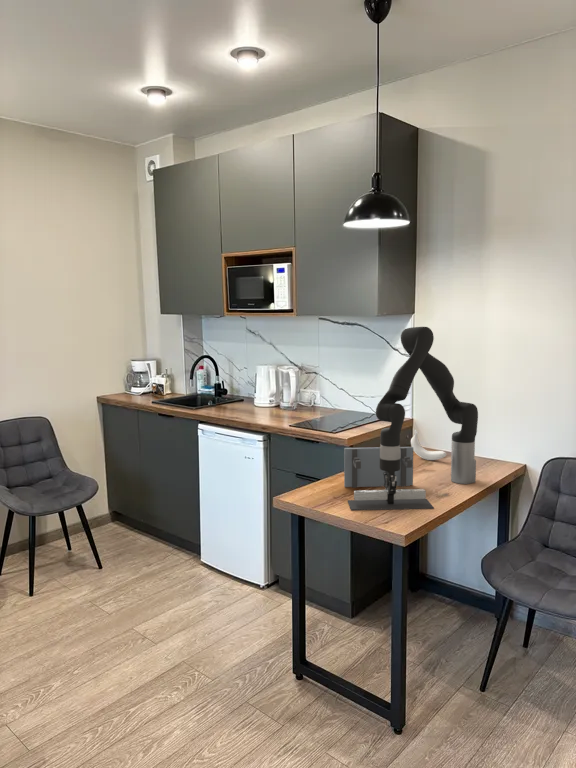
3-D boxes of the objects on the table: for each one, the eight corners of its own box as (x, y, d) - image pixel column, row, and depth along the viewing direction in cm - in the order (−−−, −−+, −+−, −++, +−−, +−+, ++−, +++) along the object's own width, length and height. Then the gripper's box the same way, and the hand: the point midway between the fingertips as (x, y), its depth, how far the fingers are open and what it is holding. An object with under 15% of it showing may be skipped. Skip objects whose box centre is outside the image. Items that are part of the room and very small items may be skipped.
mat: (426, 499, 217) (426, 498, 217) (433, 508, 207) (433, 507, 207) (347, 501, 216) (347, 500, 216) (350, 510, 207) (350, 509, 206)
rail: (423, 496, 213) (424, 489, 212) (425, 498, 210) (425, 491, 210) (354, 498, 212) (354, 490, 212) (354, 500, 210) (354, 492, 210)
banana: (444, 464, 267) (445, 433, 265) (408, 458, 279) (408, 428, 277) (449, 462, 270) (450, 431, 269) (413, 456, 283) (413, 426, 281)
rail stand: (412, 484, 236) (412, 446, 234) (419, 494, 223) (420, 454, 221) (344, 486, 235) (344, 448, 233) (348, 495, 223) (348, 455, 221)
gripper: (404, 461, 203) (404, 508, 205) (396, 451, 216) (396, 496, 219) (383, 461, 203) (383, 509, 205) (376, 452, 216) (376, 496, 218)
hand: (389, 502), depth 212 cm, fingers closed on rail, 2 cm apart
